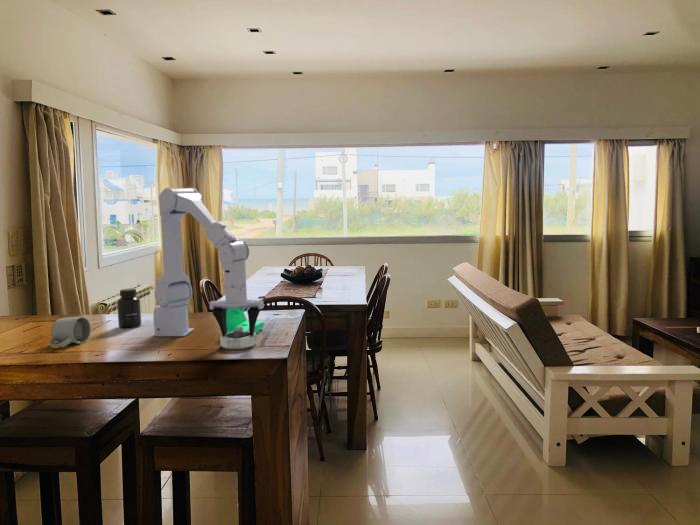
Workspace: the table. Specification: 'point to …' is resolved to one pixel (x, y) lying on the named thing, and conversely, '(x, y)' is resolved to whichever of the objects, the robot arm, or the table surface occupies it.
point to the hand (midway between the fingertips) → (238, 334)
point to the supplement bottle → (129, 309)
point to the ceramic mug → (70, 331)
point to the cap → (238, 332)
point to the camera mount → (240, 320)
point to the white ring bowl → (237, 341)
